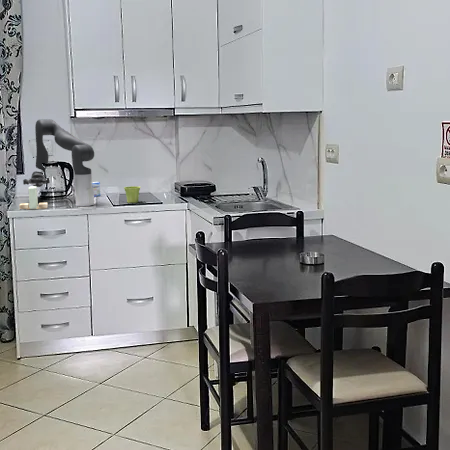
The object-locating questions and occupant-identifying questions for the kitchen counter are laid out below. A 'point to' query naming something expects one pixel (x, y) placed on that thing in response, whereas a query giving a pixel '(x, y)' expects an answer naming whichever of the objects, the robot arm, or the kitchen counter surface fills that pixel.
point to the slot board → (40, 206)
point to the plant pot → (132, 194)
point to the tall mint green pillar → (33, 197)
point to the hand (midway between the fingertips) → (35, 182)
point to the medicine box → (96, 188)
